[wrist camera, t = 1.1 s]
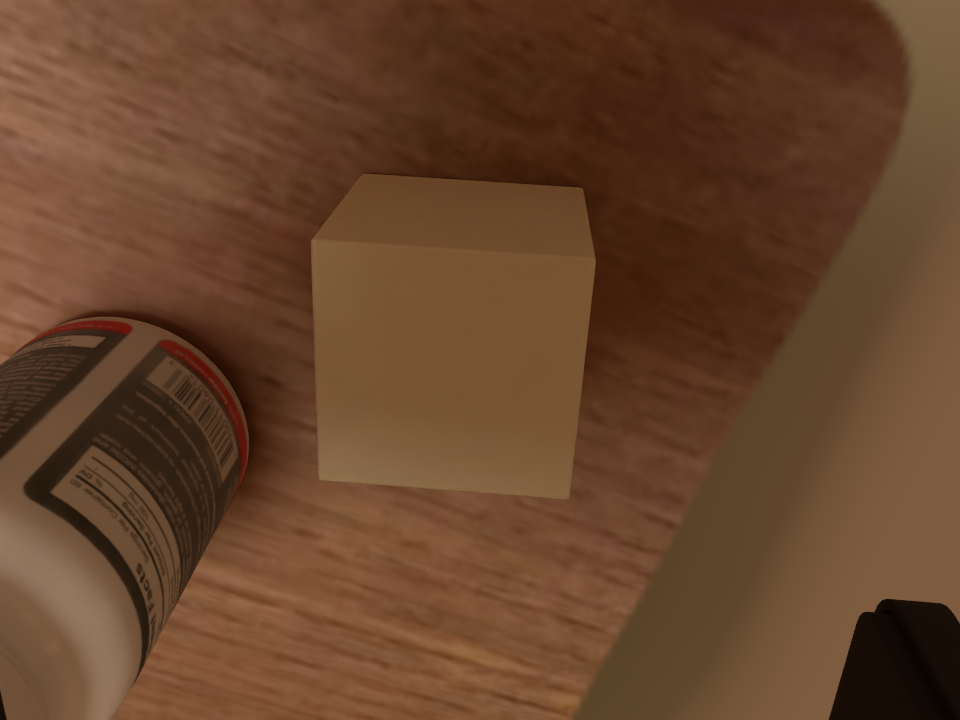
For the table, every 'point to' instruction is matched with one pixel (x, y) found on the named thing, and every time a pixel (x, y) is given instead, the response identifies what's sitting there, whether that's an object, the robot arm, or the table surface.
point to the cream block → (451, 334)
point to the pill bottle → (104, 505)
